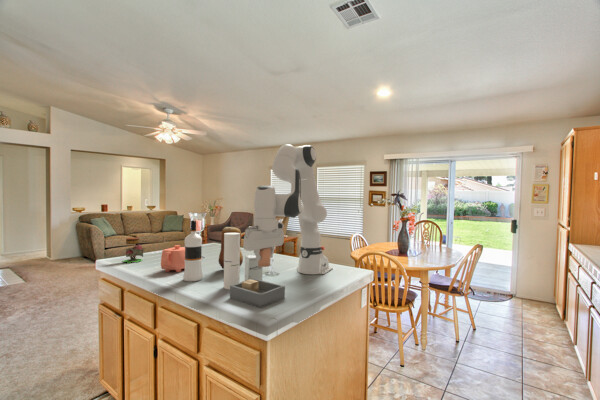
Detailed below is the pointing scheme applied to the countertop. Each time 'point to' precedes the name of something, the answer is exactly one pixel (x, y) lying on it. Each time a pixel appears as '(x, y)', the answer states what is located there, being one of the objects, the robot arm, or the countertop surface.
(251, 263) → the supplement box
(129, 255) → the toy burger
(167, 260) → the teapot
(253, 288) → the oak cube
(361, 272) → the countertop surface
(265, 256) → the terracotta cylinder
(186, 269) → the vodka
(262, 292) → the tote
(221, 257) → the butternut squash
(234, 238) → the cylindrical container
